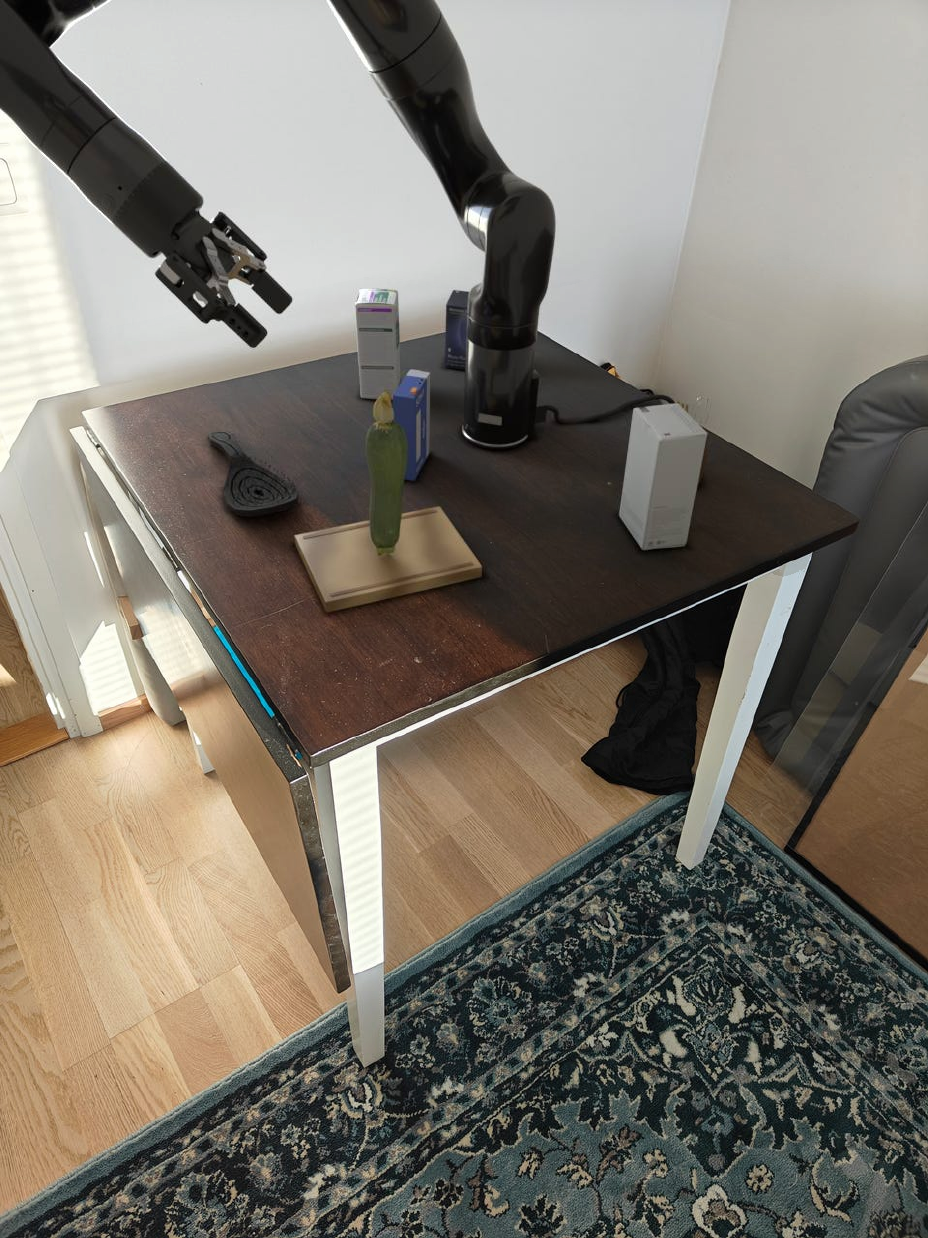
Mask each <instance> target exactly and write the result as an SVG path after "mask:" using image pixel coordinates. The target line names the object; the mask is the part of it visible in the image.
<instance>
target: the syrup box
mask: <svg viewBox="0 0 928 1238" xmlns="http://www.w3.org/2000/svg"><path fill="white" fill-rule="evenodd" d="M399 305H400V304H399V292H398V290H396V289H388V288H360V289H359V291H358V295H357V297H356V299H355V303H354V311H355V314H354V315H355V329H356V345H357V346H356V349H357V361H358V377H359V378H358V379H359V392H360V394H359V395H360V398H361V399H370V400H377V399H378V398H379V397H381V393H384V392H390V395H391V397H392V398H391V397H390V399H391V400H393V394H394V393H395V392H396V390H397V389H398V387H399V386H400V384H401V383H402V372H401V371H402V370H401V368H402V367H401V366H402V365H401V339H400V336H401V335H400V334H401V333H400V308H399V307H400V306H399Z"/></svg>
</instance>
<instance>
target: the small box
mask: <svg viewBox="0 0 928 1238" xmlns="http://www.w3.org/2000/svg"><path fill="white" fill-rule="evenodd" d="M469 292H470V291H468V290H467V291H466V290H458V289H452V291H451V293H450V295H449V298H448V299H447V302H446V304H445V335H444V337H445V338H444V368H446V369H447V368H448V369H455V370H464V371H465V364H466V339H467V307H468V295H469Z"/></svg>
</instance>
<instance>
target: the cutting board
mask: <svg viewBox="0 0 928 1238" xmlns="http://www.w3.org/2000/svg"><path fill="white" fill-rule="evenodd" d="M294 544H295V548H296V549H297V552H298V554H299V557H300V558H301V560H302V563H303V565H304V568H305V569H306V571H307V573H308V576H309V578H310V580H311V582H312V584H313V587H314V589H315V591H316V593H317V595H318V598H319V599H320V602H321V604H322V607H323V608H324V611H325V613H327V614H329V613H333V612H336V611H341V610H345V609H349V608H354V607H359V606H362V605H367V604H372V603H376V602H379V601H384V600H388V599H393V598H397V597H401V596H405V595H409V594H414V593H419V592H423V591H427V590H431V589H436V588H440V587H444V586H449V585H452V584H453V585H454V584H457V583H462V582H466V581H470V580H474V579H479V578H482V576H483V566H482V564H481V563H480V561H479V560H478V558H477V557H476V556H475V554H474V552H473V551H472V550H471V548H470V547H469V546H468V544H467V542H465V540H464V538H463V537H462V536H461V534H460V532H459V531H458V530H457V528H456V527H455V526H454V524H453V523H452V522H451V521H450V519H449V517H448V515H446V513H445V511H444V510H443V509H442V507H441V506H440V505H437V506H434V507H428V508H424V509H419V510H414V511H408V512H402V517H401V525H400V536H399V540H398V542H397V543H396V545H395V551H394V553H388V554H387V553H386V554H382V555H381V556H380V557H379V556H378V554H377V551H376V548H375V545H374V543H373V541H372V539H371V534H370V521H369V520H363V521H358V522H354V523H349V524H343V525H339V526H335V527H329V528H324V529H319V530H314V531H307V532H303V533H299V534H294Z"/></svg>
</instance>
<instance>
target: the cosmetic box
mask: <svg viewBox="0 0 928 1238" xmlns="http://www.w3.org/2000/svg"><path fill="white" fill-rule="evenodd" d="M681 406H682V405H681V403H680V404H678V403H677V402H675V404H670V403H666V404H665V403H664V404H657V405H648V406H642V407H635V408H633V410H632V418H631V425H630V432H629V440H628V447H627V454H626V461H625V462H626V463H625V469H624V476H623V482H622V483H623V484H622V492H621V498H620V499H621V500H620V504H619V505H620V506H619V512H618V516H619V518H620V520H621V521H622V522H623V524H624V525H625V526H626V528H627V530H628V531H629V532H630V534H631V535H632V537H633V538H634V540H635V541H636V542H637V544H638V545H639V547H640V549H641V550H642V551H648V550H656V549H669V548H679V547H685V546H686V545H687V542H688V537H689V531H690V526H691V522H692V515H693V510H694V507H695V501H696V495H697V489H698V485H699V483H698V479H699V474H700V469H701V463H702V458H703V453H704V448H705V443H706V438H707V434H708V435H709V432H708V433H707V432H706V431H705V430H704V429H703V428H702V427H701V426H702V425H701V424H700V423H698V422H697V421H696V420H694V419H695V418H693V417H692V415H691V414H689V412H688V413H687V412H686V411H685V410H686V409H685V408H684V409H683V408H682V407H681ZM690 415H691V416H690ZM699 424H700V425H699Z"/></svg>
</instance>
